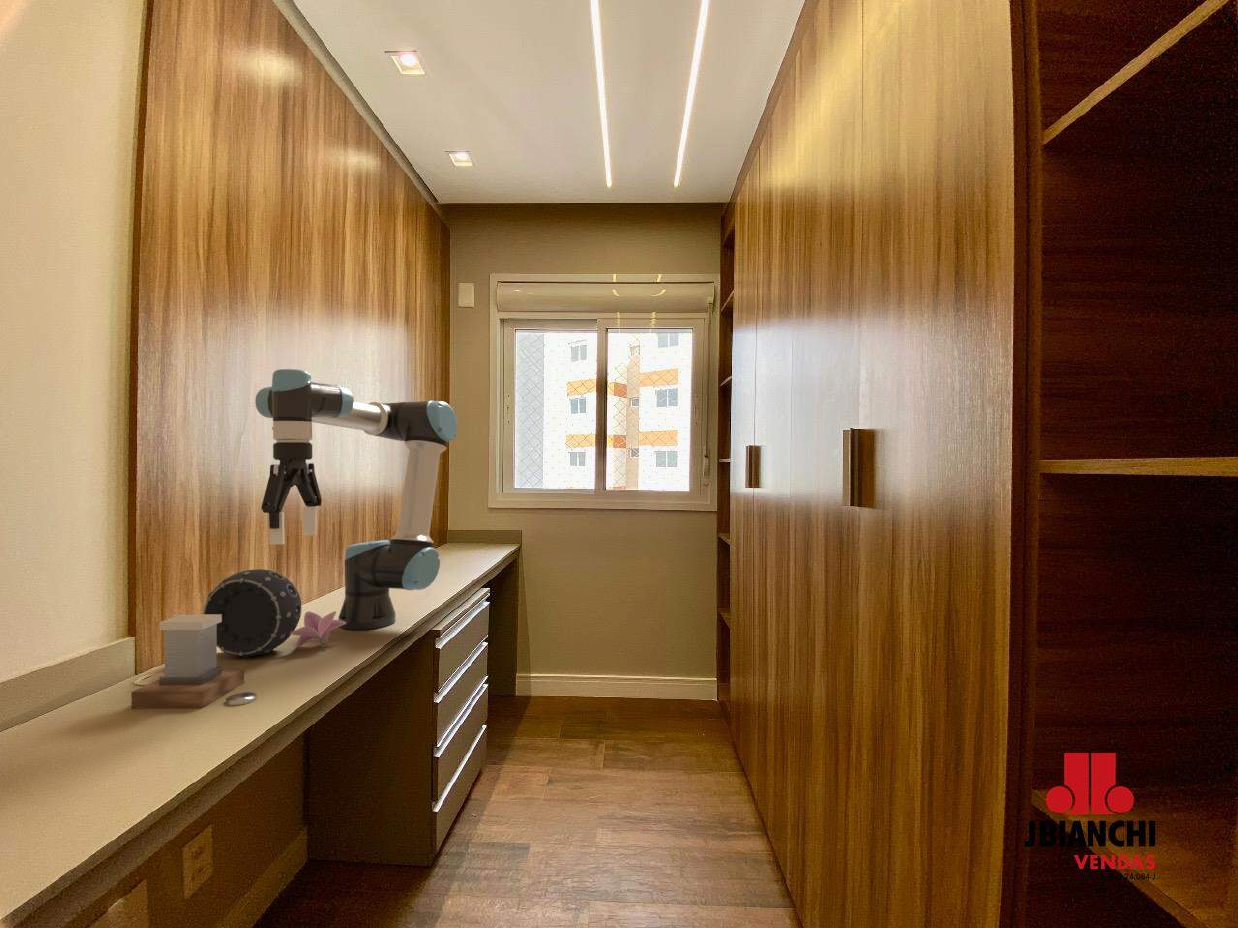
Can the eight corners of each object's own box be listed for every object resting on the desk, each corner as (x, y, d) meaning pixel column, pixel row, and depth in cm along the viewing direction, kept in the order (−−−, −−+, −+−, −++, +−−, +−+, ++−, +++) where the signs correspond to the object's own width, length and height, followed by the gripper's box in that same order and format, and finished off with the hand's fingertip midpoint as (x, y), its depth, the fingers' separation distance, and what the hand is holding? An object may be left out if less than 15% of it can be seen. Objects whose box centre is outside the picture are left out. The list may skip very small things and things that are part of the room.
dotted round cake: (284, 661, 141) (284, 573, 141) (195, 661, 140) (196, 574, 140) (307, 647, 151) (307, 566, 151) (224, 647, 151) (225, 566, 151)
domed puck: (235, 697, 120) (235, 692, 120) (261, 697, 120) (261, 691, 120) (220, 707, 115) (220, 702, 115) (247, 707, 115) (247, 701, 115)
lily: (354, 645, 156) (344, 610, 159) (344, 639, 146) (333, 602, 148) (304, 665, 152) (294, 628, 155) (290, 660, 142) (280, 621, 145)
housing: (181, 674, 123) (181, 614, 123) (221, 674, 123) (221, 614, 123) (159, 685, 117) (159, 622, 117) (201, 684, 117) (202, 621, 117)
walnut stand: (180, 683, 126) (180, 668, 126) (244, 682, 127) (244, 668, 127) (131, 708, 113) (131, 692, 113) (202, 707, 114) (202, 691, 114)
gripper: (304, 442, 145) (306, 531, 145) (240, 440, 120) (242, 548, 121) (336, 442, 145) (337, 531, 146) (278, 440, 120) (280, 548, 121)
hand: (294, 539), depth 133 cm, fingers open, 13 cm apart
